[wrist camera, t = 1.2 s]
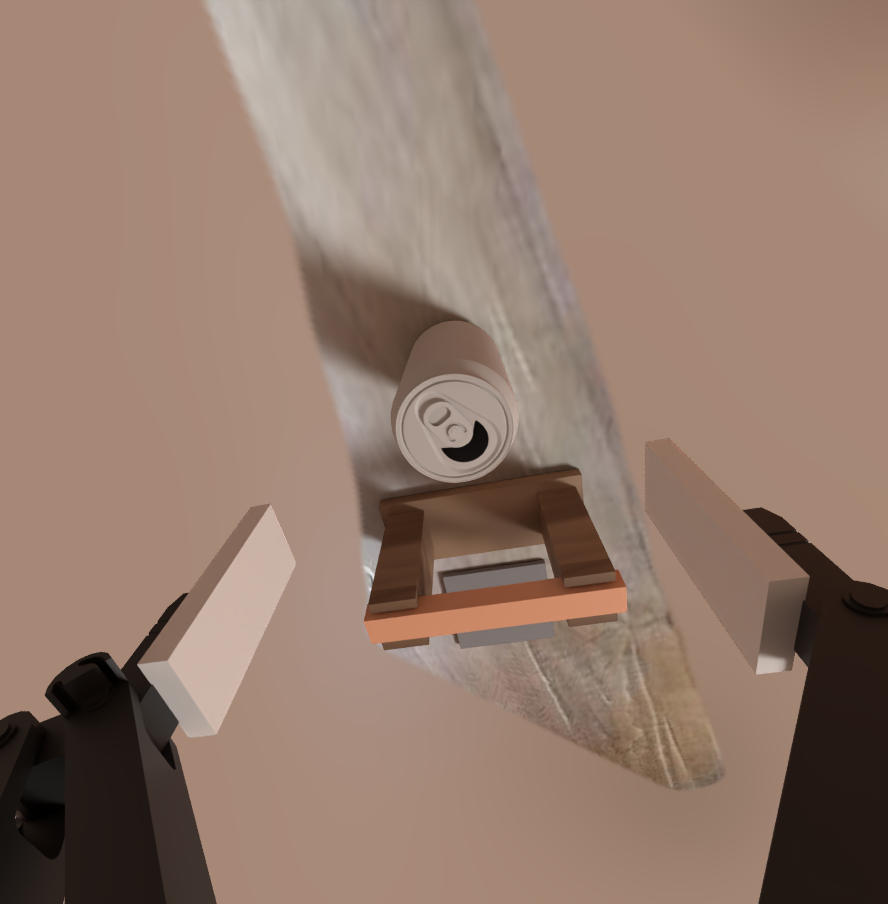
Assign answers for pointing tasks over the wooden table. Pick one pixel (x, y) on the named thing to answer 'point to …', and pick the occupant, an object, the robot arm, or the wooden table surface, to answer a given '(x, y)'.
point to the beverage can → (454, 404)
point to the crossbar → (497, 609)
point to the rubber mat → (492, 579)
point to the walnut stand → (487, 537)
